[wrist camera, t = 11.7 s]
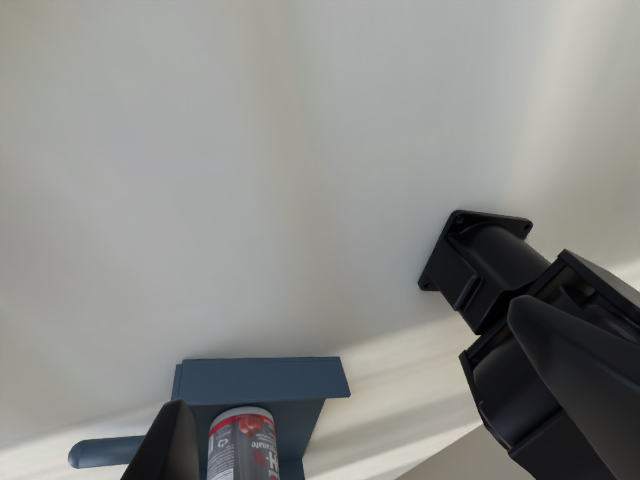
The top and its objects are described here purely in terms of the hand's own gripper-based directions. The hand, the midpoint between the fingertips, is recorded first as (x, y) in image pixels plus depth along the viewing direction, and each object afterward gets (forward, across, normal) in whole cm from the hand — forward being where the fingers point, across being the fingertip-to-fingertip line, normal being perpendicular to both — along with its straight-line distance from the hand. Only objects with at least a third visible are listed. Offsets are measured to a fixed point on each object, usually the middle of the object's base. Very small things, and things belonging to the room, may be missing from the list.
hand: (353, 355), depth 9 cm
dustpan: (+12, +12, +20) cm, 26 cm away
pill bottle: (+12, +9, +21) cm, 26 cm away
